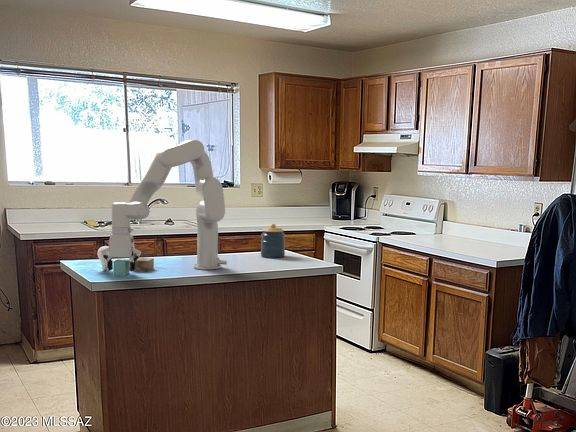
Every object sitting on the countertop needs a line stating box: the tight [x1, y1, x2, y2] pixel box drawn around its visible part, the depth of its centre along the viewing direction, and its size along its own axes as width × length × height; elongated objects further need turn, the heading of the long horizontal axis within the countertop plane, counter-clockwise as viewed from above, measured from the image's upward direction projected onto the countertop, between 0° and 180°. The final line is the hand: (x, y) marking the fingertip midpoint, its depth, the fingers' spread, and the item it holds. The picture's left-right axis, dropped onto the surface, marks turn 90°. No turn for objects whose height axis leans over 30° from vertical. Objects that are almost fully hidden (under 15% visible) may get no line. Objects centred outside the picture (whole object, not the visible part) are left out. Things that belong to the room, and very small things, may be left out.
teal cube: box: [112, 258, 130, 276], centre depth 227 cm, size 5×5×6 cm
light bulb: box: [97, 245, 109, 272], centre depth 234 cm, size 7×7×11 cm
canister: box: [260, 223, 286, 259], centre depth 281 cm, size 13×13×18 cm
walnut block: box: [133, 257, 155, 273], centre depth 238 cm, size 7×7×5 cm
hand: (121, 270), depth 227 cm, fingers open, 9 cm apart
